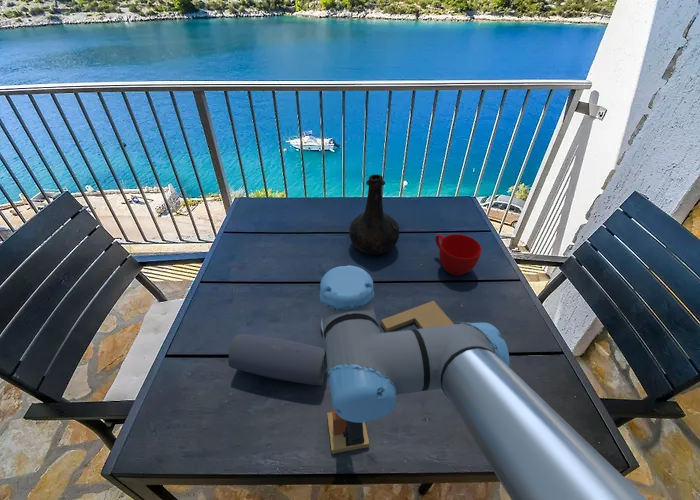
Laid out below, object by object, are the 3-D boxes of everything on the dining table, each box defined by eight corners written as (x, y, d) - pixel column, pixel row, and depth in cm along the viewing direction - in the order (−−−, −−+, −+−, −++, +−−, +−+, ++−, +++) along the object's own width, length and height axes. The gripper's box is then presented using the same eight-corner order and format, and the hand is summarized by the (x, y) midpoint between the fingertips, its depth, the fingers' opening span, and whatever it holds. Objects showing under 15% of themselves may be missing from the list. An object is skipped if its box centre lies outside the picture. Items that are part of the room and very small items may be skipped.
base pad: (467, 344, 95) (468, 340, 93) (410, 369, 89) (411, 365, 88) (432, 304, 106) (433, 300, 105) (380, 324, 100) (381, 319, 99)
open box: (369, 447, 74) (370, 428, 69) (331, 453, 73) (330, 435, 68) (361, 410, 80) (362, 390, 75) (327, 416, 79) (325, 396, 74)
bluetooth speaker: (329, 362, 90) (328, 339, 84) (320, 396, 83) (317, 373, 77) (248, 347, 94) (240, 323, 87) (232, 378, 87) (223, 354, 80)
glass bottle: (392, 266, 120) (400, 194, 102) (342, 256, 123) (341, 186, 106) (401, 236, 133) (409, 168, 115) (356, 228, 137) (357, 162, 119)
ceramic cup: (446, 246, 128) (451, 224, 122) (483, 272, 117) (490, 249, 111) (420, 259, 122) (423, 236, 116) (455, 287, 111) (462, 264, 105)
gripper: (388, 417, 48) (379, 473, 62) (355, 289, 67) (354, 353, 81) (334, 426, 47) (337, 481, 61) (317, 293, 66) (322, 357, 80)
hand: (347, 408), depth 71 cm, fingers open, 13 cm apart
